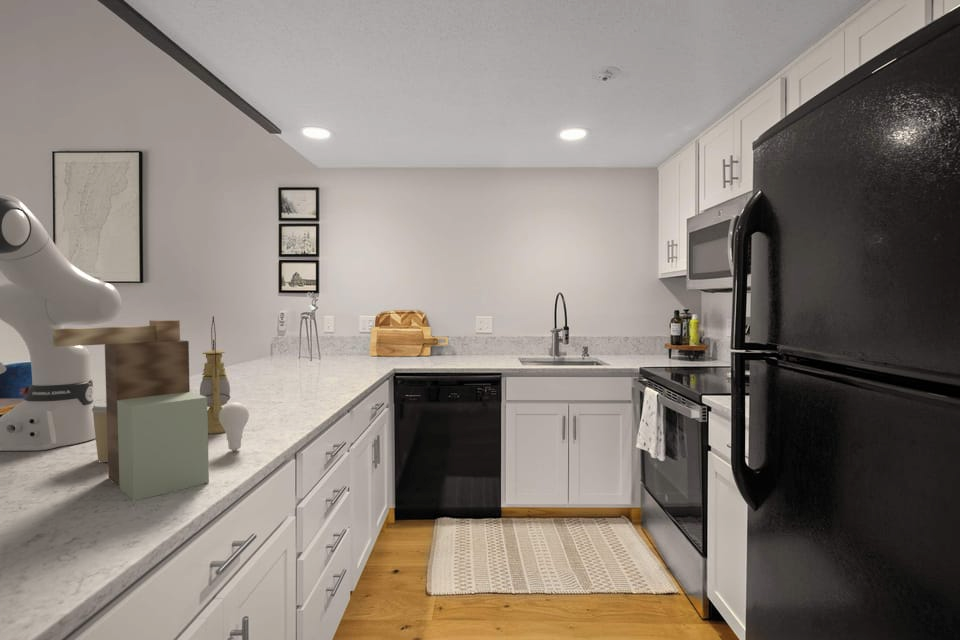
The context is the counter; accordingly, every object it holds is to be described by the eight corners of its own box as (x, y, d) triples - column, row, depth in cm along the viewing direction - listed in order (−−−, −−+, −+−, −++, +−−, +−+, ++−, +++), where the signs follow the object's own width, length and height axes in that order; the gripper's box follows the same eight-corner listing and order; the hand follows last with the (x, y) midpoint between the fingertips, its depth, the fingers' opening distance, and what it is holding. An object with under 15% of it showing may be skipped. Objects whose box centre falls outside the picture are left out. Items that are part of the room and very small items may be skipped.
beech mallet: (57, 347, 89) (56, 323, 89) (52, 345, 92) (51, 323, 92) (180, 340, 103) (179, 320, 103) (172, 339, 106) (171, 320, 106)
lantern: (192, 427, 140) (189, 315, 139) (232, 423, 145) (230, 315, 144) (194, 437, 129) (191, 316, 128) (237, 432, 134) (235, 316, 133)
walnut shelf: (119, 488, 94) (115, 344, 93) (108, 478, 100) (104, 342, 99) (191, 471, 103) (188, 340, 102) (177, 463, 109) (174, 339, 108)
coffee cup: (140, 449, 119) (139, 397, 119) (150, 457, 113) (149, 402, 112) (89, 457, 113) (88, 402, 112) (97, 467, 106) (95, 408, 106)
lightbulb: (237, 455, 114) (236, 405, 114) (213, 454, 115) (212, 404, 115) (255, 447, 120) (254, 400, 120) (231, 446, 121) (230, 399, 121)
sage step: (133, 500, 88) (131, 407, 88) (119, 488, 94) (117, 400, 94) (208, 482, 97) (207, 397, 96) (191, 472, 103) (189, 391, 103)
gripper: (-131, 408, 68) (-7, 350, 77) (-124, 392, 82) (-19, 344, 91) (-94, 445, 71) (22, 384, 79) (-93, 423, 84) (6, 374, 93)
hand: (0, 363), depth 85 cm, fingers open, 8 cm apart
